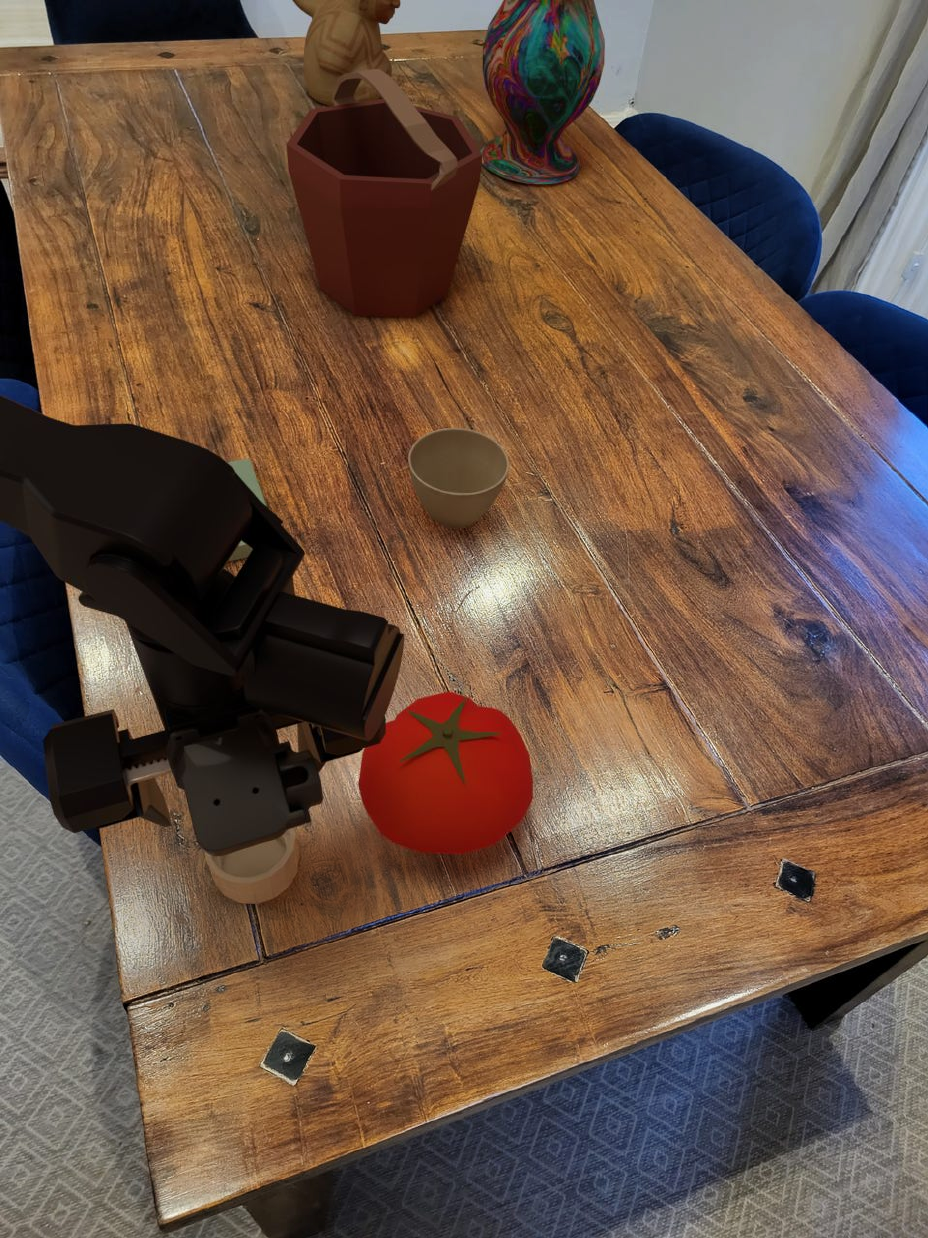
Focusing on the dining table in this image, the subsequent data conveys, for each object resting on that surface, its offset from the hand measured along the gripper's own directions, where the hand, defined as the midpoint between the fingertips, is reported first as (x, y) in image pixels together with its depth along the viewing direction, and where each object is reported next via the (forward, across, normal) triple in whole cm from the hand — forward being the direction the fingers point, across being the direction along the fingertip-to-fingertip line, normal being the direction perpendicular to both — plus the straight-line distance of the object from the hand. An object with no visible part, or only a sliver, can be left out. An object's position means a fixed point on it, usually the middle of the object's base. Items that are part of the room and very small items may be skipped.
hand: (238, 799), depth 58 cm
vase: (+11, +69, +103) cm, 124 cm away
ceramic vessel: (+11, +47, +134) cm, 142 cm away
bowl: (+11, 0, 0) cm, 11 cm away
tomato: (+11, +15, 0) cm, 19 cm away
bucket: (+11, +34, +74) cm, 82 cm away
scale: (+11, +3, +37) cm, 39 cm away
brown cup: (+11, +28, +31) cm, 43 cm away
